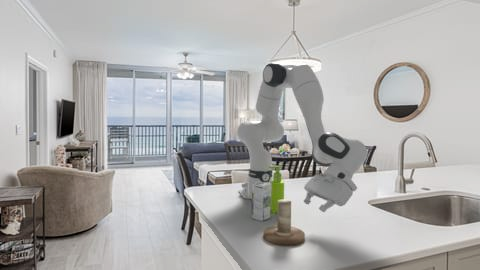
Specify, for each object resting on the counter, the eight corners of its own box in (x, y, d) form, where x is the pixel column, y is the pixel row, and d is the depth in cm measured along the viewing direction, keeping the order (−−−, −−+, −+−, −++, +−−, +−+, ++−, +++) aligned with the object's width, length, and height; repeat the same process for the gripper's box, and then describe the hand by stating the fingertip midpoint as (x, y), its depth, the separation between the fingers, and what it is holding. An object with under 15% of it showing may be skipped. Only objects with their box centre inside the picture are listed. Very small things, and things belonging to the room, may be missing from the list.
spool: (271, 230, 106) (271, 199, 105) (287, 228, 108) (287, 198, 107) (280, 237, 100) (280, 204, 99) (297, 234, 102) (297, 202, 101)
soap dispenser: (265, 210, 133) (266, 165, 132) (279, 208, 136) (280, 164, 135) (271, 214, 128) (272, 167, 127) (286, 212, 130) (286, 166, 129)
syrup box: (259, 215, 127) (259, 181, 126) (271, 218, 123) (271, 183, 122) (251, 218, 122) (251, 183, 121) (263, 222, 119) (263, 185, 118)
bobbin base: (256, 232, 108) (256, 228, 108) (290, 227, 113) (290, 223, 113) (275, 248, 95) (275, 244, 95) (313, 242, 100) (313, 237, 100)
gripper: (314, 167, 119) (292, 194, 116) (350, 177, 100) (325, 209, 97) (323, 177, 121) (302, 204, 118) (361, 189, 102) (336, 221, 99)
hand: (313, 206), depth 107 cm, fingers open, 8 cm apart
